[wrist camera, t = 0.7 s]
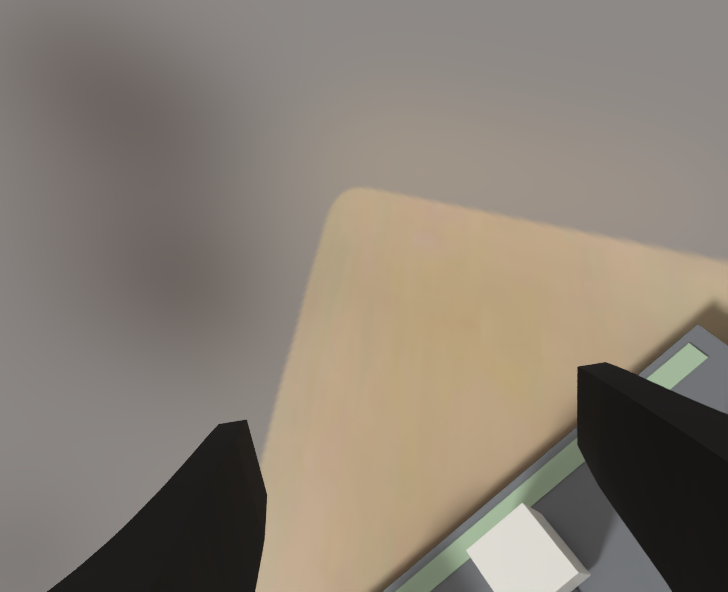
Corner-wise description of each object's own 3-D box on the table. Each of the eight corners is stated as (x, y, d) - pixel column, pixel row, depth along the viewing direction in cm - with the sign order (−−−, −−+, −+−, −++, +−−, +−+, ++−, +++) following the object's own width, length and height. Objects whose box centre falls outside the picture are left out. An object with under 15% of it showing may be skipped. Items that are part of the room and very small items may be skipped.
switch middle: (591, 575, 22) (578, 572, 19) (537, 619, 22) (515, 624, 19) (541, 513, 24) (522, 502, 21) (491, 555, 24) (465, 550, 21)
